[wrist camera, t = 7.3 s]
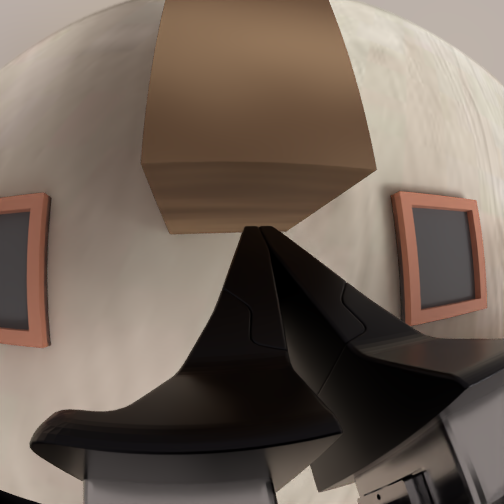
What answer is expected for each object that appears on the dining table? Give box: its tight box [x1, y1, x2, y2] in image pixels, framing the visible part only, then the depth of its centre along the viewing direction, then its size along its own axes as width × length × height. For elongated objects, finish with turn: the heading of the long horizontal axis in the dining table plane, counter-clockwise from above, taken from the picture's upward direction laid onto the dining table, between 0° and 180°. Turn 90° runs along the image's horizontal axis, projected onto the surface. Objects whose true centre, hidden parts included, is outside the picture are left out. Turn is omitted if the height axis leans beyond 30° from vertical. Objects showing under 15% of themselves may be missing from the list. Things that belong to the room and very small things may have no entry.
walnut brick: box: [141, 0, 377, 234], centre depth 12 cm, size 14×6×9 cm, turn 3°
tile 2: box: [391, 191, 487, 326], centre depth 18 cm, size 8×8×1 cm
